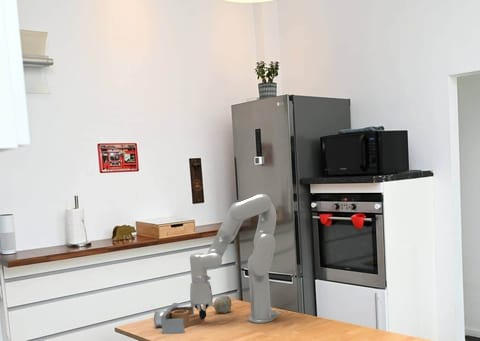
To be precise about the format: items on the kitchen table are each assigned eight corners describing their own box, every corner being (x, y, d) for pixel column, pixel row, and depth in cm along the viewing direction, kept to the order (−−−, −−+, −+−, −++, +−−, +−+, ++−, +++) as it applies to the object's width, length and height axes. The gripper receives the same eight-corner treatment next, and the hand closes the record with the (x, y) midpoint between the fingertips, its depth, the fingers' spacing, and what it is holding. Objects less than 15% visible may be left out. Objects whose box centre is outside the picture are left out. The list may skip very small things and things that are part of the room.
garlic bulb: (231, 316, 249) (236, 297, 249) (223, 317, 241) (229, 298, 242) (216, 309, 253) (221, 291, 253) (208, 310, 245) (214, 291, 246)
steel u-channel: (194, 318, 239) (193, 302, 240) (183, 332, 216) (182, 314, 216) (162, 319, 241) (161, 303, 241) (149, 334, 217) (148, 316, 217)
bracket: (180, 330, 221) (179, 315, 221) (168, 327, 226) (167, 312, 227) (207, 320, 234) (207, 306, 235) (196, 318, 240) (195, 304, 240)
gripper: (216, 277, 231) (219, 315, 230) (185, 279, 232) (189, 317, 232) (214, 280, 223) (217, 319, 223) (182, 282, 225) (185, 322, 224)
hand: (203, 318), depth 227 cm, fingers closed
